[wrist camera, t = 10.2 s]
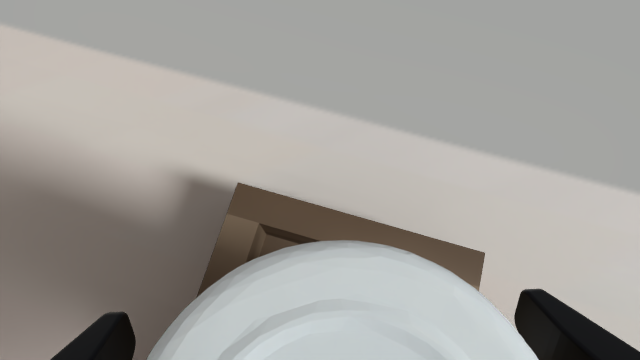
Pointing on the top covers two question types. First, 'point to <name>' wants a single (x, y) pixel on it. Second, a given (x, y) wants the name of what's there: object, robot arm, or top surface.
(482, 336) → the sprinkles bottle
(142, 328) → the top surface
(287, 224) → the walnut holder
